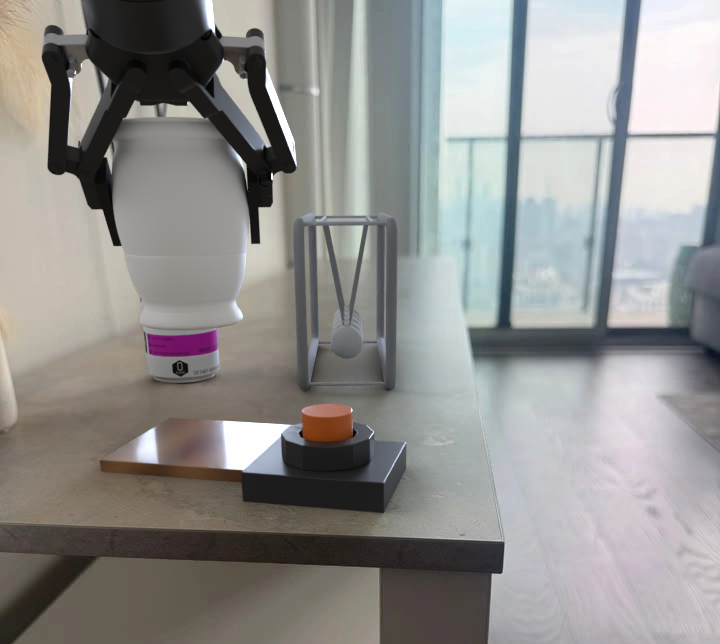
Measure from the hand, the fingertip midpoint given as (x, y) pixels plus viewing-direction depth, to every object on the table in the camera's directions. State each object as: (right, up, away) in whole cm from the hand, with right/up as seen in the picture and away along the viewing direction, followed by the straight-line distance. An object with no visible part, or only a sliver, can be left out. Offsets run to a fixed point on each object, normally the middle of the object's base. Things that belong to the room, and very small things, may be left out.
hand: (187, 232), depth 62 cm
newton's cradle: (+13, -6, +32) cm, 35 cm away
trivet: (+1, -18, 0) cm, 18 cm away
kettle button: (+12, -17, -8) cm, 23 cm away
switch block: (+12, -21, -7) cm, 25 cm away
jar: (0, -8, 0) cm, 8 cm away
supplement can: (-7, -8, +27) cm, 29 cm away
